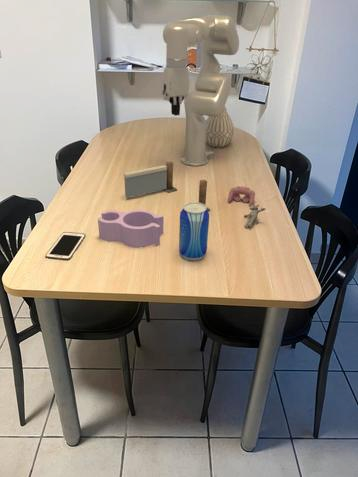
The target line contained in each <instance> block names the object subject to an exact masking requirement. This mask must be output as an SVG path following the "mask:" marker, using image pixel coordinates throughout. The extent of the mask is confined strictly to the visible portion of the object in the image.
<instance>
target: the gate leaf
mask: <svg viewBox="0 0 358 477" xmlns="http://www.w3.org/2000/svg"><path fill="white" fill-rule="evenodd" d="M123 180H124V181H123V182H124V197H125V198H126V199H128V198H133V197H136V196H137V197H138V196H140V195H146V194H149V193H153V192H159V191H164V190H163V189H167V166H166V164H163V165H159V166H153V167H148V168H144V169H139V170H132V171H127V172H123Z"/></svg>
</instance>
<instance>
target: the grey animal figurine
mask: <svg viewBox="0 0 358 477" xmlns="http://www.w3.org/2000/svg"><path fill="white" fill-rule="evenodd" d="M259 207H260V205H259V204H256V205H255V204H253V205H251V206H250V205H249V206H248V209H249V210H250V211H251V212H249V213H248V214H244V215H243V216H244V218H248V220H247V221H246V223H245V224H244V228H246V229H247V228H249V227H252V225H253V222H255V224H256V225H258V217H259V213H261V212H263V211H265V210H266V207H263V208H262V207H260V209H259Z"/></svg>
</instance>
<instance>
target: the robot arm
mask: <svg viewBox="0 0 358 477" xmlns="http://www.w3.org/2000/svg"><path fill="white" fill-rule="evenodd" d="M162 30H163V31H162V38H163V42H164V43H165V44H166V48H165V49H166V51H165V52H166V57H165V58H166V59H165V60H166V63H165V64H166V66H165V67H164V68H163V73H162V78H161V79H162V80H161V94H162V95H163V98H162V99H163V100H164V101H167V102H169V103H170V105H171V107H170V108H171V115H174V116H181V115H180V114H181V105H182V102H183V104H184V105H183V106H184V113H185V135H184V137H185V138H184V139H185V140H184V155H183V156H182V157H181V159H180V162H181V163H182V164H184V165H186V166H191V167H199V166H204V165H207V164H208V161H209V159H208V156H212V155H213V154H214V152H213V150H210V151H208V150H206V146H207V145H206V144H207V142H206V130H207V124H206V120H207V119H206V118H205V116H207V117H209V116H213V117H217V116H220V115H221V113H222V112H223V109H224V106H225V107H226V103H227V100H228V97H229V95H230V92H231V88H232V79H231V77H230V75H228V74H227V73H222V72H221V64H220V62H219V61H218V59H217V58H216V57H217V56H215V55H221V56H234V55H236V54H237V52H238V51H239V48H240V39H239V38H240V37H239V35H238V31H237V26H236V24H235V21H234V20H233V18H232V17H231V16H230V15H222V14H220V15H219V14H207V15H203V16H200V17H195V18H189V19H181V20H180V19H179V20H173V21H170V22H167V24H166V25H165V26H164V28H163V29H162ZM199 44H200V52H201V60H202V61H201V67H200V68H199V72H198V75H197V76H196V79H195V83H194V89H195V90H192V91H190V74H189V73H190V72H189V67H187V66H188V64H190V60H189V59H188V48H195V47H197V46H199Z"/></svg>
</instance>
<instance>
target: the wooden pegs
mask: <svg viewBox="0 0 358 477" xmlns="http://www.w3.org/2000/svg"><path fill="white" fill-rule="evenodd" d="M165 166H167V189H163V190H162V191H164V192H165V193H167V194H170V193H173V192H174V193H175V192H177V191H178V188H176V187H175V186H173V185H174V184H173V183H174V181H173V180H174V178H173V177H174V162H173V161H166V163H165ZM207 187H208V181H207V180H206V179H201V180H199V186H198V190H199V191H198V202H199V203H202V204H204V205H205V206H206V205H207V204H206V203H207V202H206V201H207V190H208V189H207ZM207 211H208V213H210V212H211V208H209V207H207Z"/></svg>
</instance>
